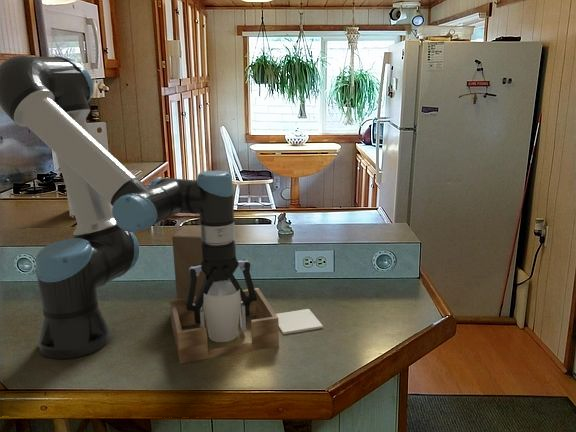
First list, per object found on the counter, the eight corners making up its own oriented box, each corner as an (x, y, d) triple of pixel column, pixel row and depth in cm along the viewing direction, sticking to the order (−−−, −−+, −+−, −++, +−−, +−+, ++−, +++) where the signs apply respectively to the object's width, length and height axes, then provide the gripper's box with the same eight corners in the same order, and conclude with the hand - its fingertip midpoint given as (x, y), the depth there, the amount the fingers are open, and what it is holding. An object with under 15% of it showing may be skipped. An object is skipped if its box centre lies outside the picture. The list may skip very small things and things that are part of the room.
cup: (220, 323, 129) (217, 278, 126) (250, 332, 124) (248, 285, 121) (195, 339, 121) (192, 291, 118) (226, 349, 117) (224, 299, 114)
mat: (283, 334, 123) (283, 332, 123) (271, 316, 132) (271, 314, 132) (322, 328, 126) (322, 325, 126) (308, 310, 135) (308, 308, 135)
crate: (180, 363, 112) (177, 333, 110) (172, 326, 128) (169, 299, 126) (279, 346, 118) (278, 317, 116) (259, 313, 134) (258, 287, 133)
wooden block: (212, 311, 136) (208, 237, 131) (176, 308, 138) (171, 235, 133) (225, 295, 146) (221, 226, 140) (191, 293, 147) (186, 225, 142)
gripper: (170, 251, 110) (178, 347, 116) (269, 240, 116) (271, 332, 122) (167, 240, 117) (174, 332, 123) (261, 231, 123) (263, 318, 129)
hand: (223, 332), depth 123 cm, fingers closed on cup, 9 cm apart
